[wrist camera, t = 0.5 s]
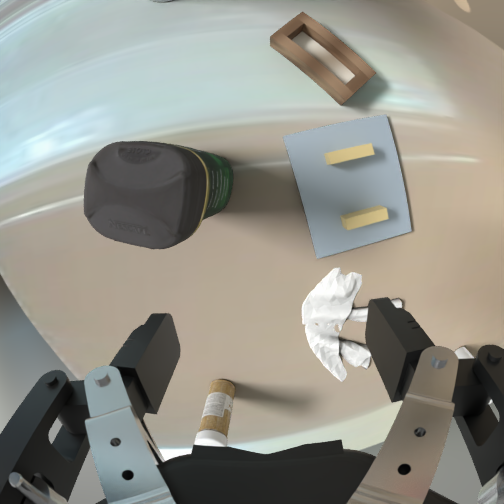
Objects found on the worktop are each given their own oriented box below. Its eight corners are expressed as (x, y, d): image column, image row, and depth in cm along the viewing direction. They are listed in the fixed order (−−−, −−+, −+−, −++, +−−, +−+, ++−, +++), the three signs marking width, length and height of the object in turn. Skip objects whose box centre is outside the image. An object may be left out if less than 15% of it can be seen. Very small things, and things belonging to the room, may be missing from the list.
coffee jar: (238, 156, 33) (206, 145, 16) (227, 217, 36) (187, 269, 18) (166, 146, 33) (79, 136, 16) (157, 204, 36) (71, 241, 18)
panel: (282, 137, 32) (284, 134, 29) (383, 115, 30) (393, 111, 27) (316, 256, 37) (320, 265, 34) (409, 229, 35) (419, 235, 32)
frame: (270, 45, 29) (270, 36, 26) (300, 21, 27) (302, 11, 24) (340, 105, 31) (346, 100, 28) (368, 79, 29) (376, 72, 26)
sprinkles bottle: (235, 397, 45) (225, 457, 32) (209, 393, 45) (195, 452, 33) (236, 379, 44) (226, 442, 31) (209, 376, 44) (193, 437, 31)
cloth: (321, 248, 37) (325, 253, 35) (437, 292, 38) (444, 298, 36) (269, 362, 43) (269, 372, 41) (378, 385, 44) (382, 394, 42)
